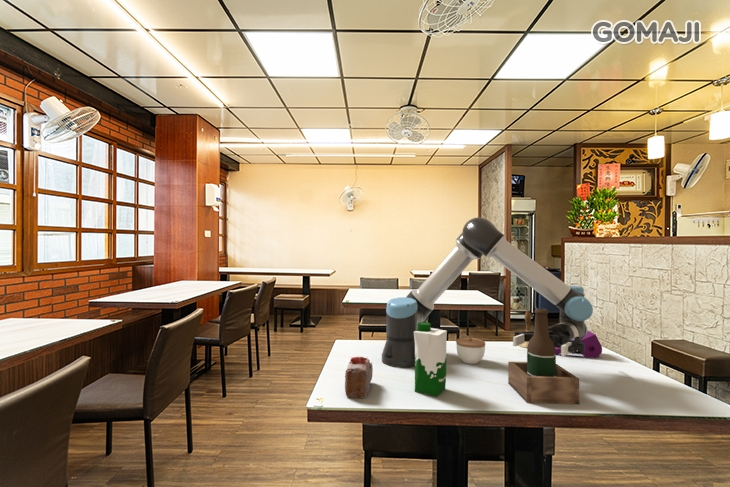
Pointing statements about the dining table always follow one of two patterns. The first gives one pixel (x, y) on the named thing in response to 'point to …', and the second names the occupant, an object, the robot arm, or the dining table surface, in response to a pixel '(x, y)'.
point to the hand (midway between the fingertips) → (537, 346)
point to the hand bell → (527, 320)
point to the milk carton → (430, 359)
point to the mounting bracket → (589, 346)
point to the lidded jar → (470, 349)
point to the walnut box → (544, 385)
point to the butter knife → (629, 377)
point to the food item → (358, 377)
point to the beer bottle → (541, 348)
